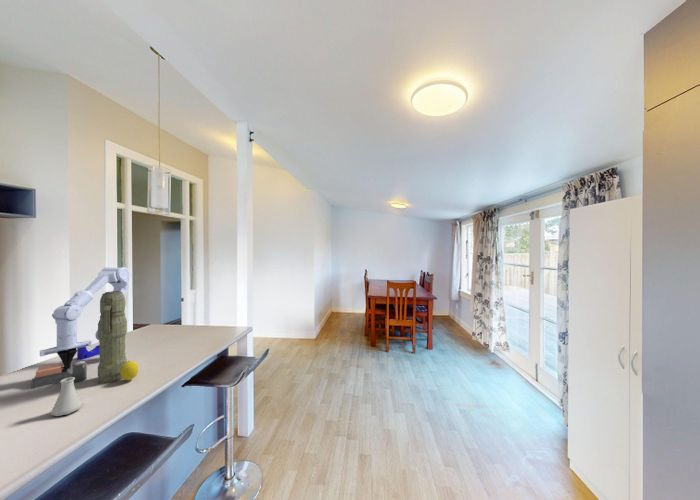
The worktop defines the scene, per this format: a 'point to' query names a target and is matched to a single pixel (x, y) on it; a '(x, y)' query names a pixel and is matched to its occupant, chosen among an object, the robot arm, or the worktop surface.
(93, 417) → the worktop surface
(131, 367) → the lemon
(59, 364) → the orange square block
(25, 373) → the worktop surface
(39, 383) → the socket plate
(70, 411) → the flask
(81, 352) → the blue notched block
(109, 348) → the green stone statue
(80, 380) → the plug
